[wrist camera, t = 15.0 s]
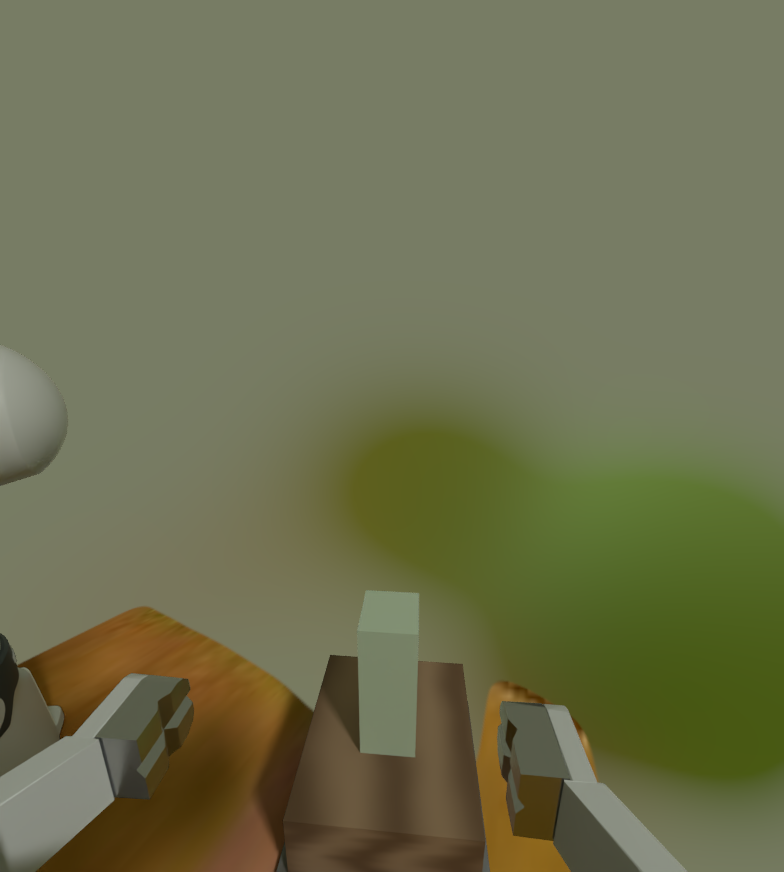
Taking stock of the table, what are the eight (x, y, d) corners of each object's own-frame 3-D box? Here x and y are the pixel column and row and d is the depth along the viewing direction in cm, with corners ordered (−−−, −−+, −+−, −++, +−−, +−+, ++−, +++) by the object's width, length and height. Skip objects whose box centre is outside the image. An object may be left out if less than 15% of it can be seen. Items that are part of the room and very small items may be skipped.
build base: (270, 898, 26) (262, 838, 25) (325, 692, 42) (323, 646, 40) (495, 925, 25) (503, 863, 24) (467, 703, 41) (470, 656, 39)
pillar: (360, 752, 30) (357, 630, 27) (367, 700, 34) (366, 590, 31) (415, 757, 30) (418, 634, 27) (415, 704, 34) (419, 593, 31)
